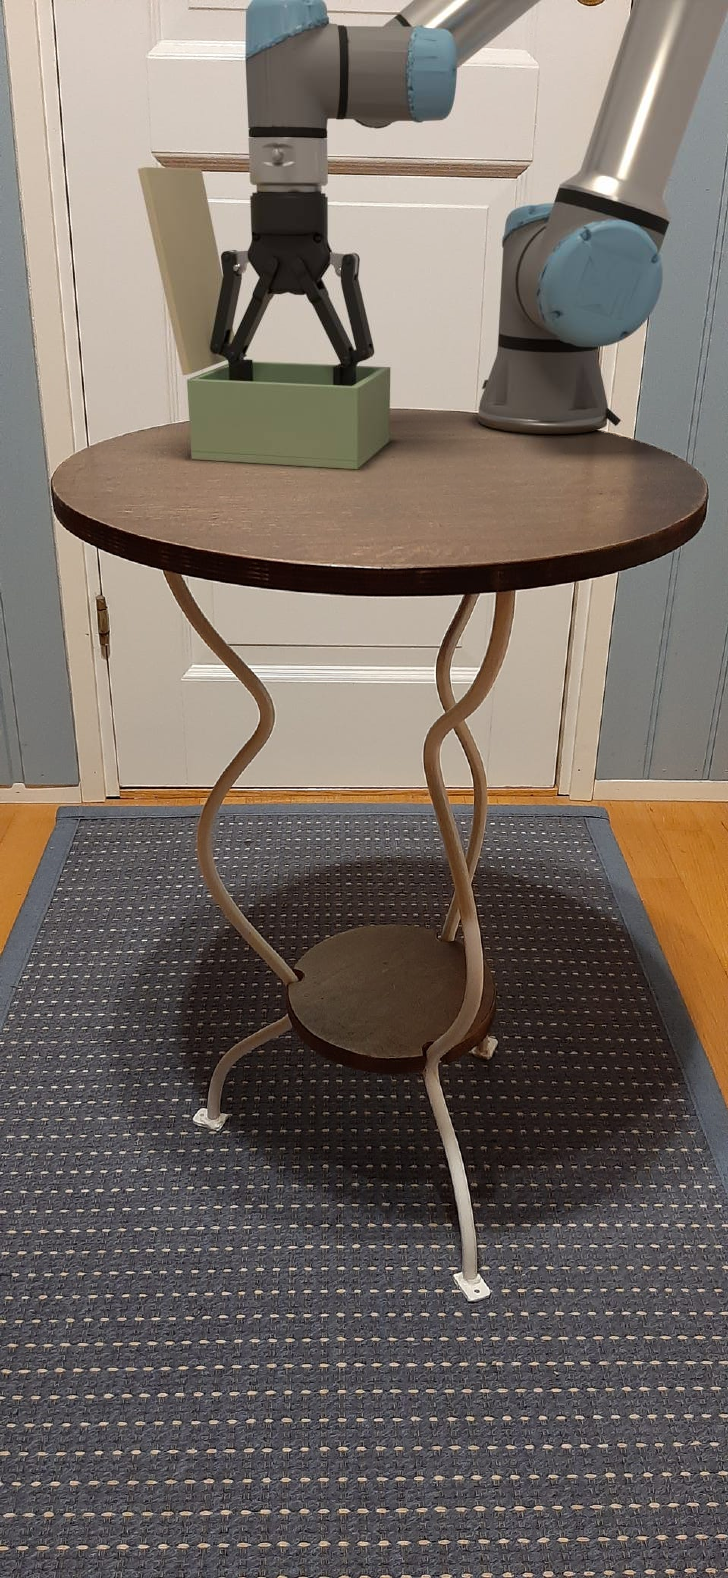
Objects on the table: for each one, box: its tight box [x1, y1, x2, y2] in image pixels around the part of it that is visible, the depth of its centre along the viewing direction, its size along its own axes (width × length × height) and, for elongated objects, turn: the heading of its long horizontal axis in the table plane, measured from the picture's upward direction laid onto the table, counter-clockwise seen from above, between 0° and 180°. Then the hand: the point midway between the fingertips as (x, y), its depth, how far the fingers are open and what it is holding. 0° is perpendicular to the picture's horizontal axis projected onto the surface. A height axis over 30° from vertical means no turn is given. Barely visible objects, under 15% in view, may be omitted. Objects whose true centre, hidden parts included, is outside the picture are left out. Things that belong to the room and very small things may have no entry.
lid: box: [137, 166, 235, 376], centre depth 117 cm, size 18×15×1 cm
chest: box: [186, 360, 391, 470], centre depth 121 cm, size 18×15×8 cm
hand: (293, 428), depth 121 cm, fingers closed on gaming controller, 9 cm apart
